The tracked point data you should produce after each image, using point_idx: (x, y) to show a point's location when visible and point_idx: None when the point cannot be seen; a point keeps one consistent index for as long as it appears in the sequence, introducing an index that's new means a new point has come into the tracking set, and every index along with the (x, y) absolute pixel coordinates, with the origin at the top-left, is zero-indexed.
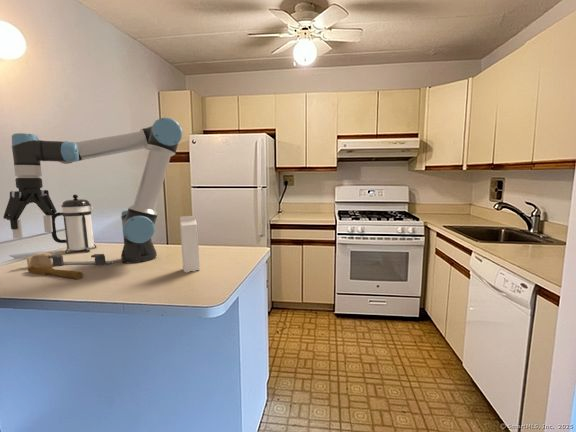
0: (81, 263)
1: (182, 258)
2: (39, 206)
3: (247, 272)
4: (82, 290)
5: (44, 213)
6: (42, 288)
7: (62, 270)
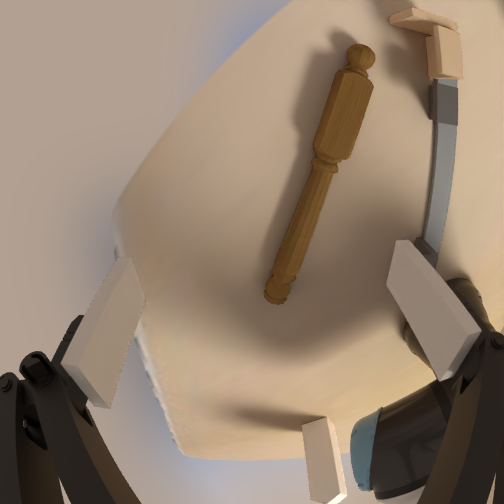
0: (432, 187)
1: (327, 435)
2: (456, 459)
3: (293, 458)
4: (189, 348)
5: (483, 353)
6: (183, 254)
7: (301, 234)
